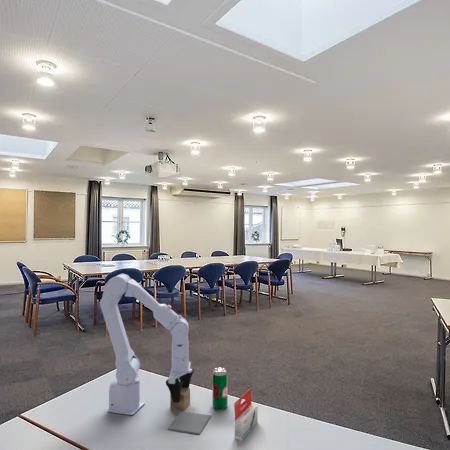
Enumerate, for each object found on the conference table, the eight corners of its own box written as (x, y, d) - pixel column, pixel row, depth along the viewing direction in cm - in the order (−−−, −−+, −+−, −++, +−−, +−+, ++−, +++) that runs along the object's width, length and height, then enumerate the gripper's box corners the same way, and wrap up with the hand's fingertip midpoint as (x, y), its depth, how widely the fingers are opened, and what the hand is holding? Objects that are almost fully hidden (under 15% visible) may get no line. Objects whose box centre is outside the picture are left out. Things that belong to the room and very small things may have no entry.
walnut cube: (170, 408, 111) (170, 393, 111) (176, 401, 116) (176, 386, 116) (184, 410, 110) (184, 395, 110) (190, 403, 114) (190, 388, 115)
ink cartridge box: (258, 422, 102) (257, 389, 103) (241, 441, 93) (241, 405, 93) (250, 420, 104) (250, 387, 104) (233, 439, 94) (233, 403, 94)
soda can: (226, 410, 109) (225, 373, 109) (210, 409, 110) (210, 372, 110) (228, 403, 114) (228, 367, 114) (214, 401, 115) (214, 366, 115)
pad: (167, 429, 99) (167, 428, 99) (181, 412, 108) (181, 411, 108) (199, 434, 96) (199, 433, 96) (210, 416, 106) (210, 415, 106)
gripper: (182, 364, 105) (183, 408, 105) (198, 349, 119) (199, 388, 119) (162, 362, 107) (162, 406, 107) (180, 348, 121) (180, 386, 121)
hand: (180, 396), depth 113 cm, fingers open, 7 cm apart
